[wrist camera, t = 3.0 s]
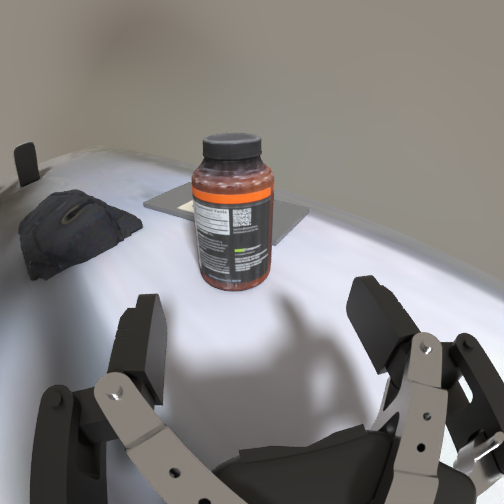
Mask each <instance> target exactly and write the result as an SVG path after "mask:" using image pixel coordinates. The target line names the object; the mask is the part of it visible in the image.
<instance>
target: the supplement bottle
mask: <svg viewBox="0 0 504 504" xmlns="http://www.w3.org/2000/svg"><path fill="white" fill-rule="evenodd" d="M261 153H262V151H261V138H260V137H259V136H257V135H253V134H245V133H226V134H216V135H211V136H208V137H205V138H204V139H203V156H204V157H205V158H204V159H203V161H202V163H201V164H200V166H199V167H198V168H197V169H196V170H195V171H194V173H193V175H192V193H193V195H192V197H193V207H194V218H195V228H196V237H197V246H198V254H199V262H200V268H201V273H202V276H203V278H204V279H205V280H206V282H207V283H209V284H211V285H212V286H214V287H216V288H218V289H222V290H225V291H242V290H247V289H250V288H253V287H256V286H258V285H259V284H261V283H262V282H263V281H264V280H265V279H266V278H267V276H268V274H269V272H270V265H271V250H272V228H273V205H274V175H273V172H272V170H271V168H269V167H268V166H267V165H266V164H264V163H263V162H262V160H261V158H260V155H261Z"/></svg>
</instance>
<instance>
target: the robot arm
mask: <svg viewBox="0 0 504 504" xmlns="http://www.w3.org/2000/svg"><path fill="white" fill-rule="evenodd" d="M346 312H347V316H348V318H349V320H350V322H351V324H352V326H353V327H354V329H355V331H356V333H357V335H358V337H359V339H360V341H361V342H362V344H363V346H364V348H365V350H366V352H367V354H368V356H369V358H370V360H371V362H372V364H373V366H374V368H375V370H376V372H377V374H378V375H379V374H382V373H386V372H388V373H389V375H390V376H389V377H388V379H387V383H386V387H385V391H384V395H383V399H382V403H381V406H380V410H379V413H378V416H377V418H376V420H375V422H374V424H373V426H372V428H371V430H365V428H364V425H363V424H361V425H358V426H355V427H352V428H348V429H345V430H341V431H338V432H335V433H333V434H331V435H329V436H328V437H326V438H324V439H322V440H320V441H318V442H316V443H314V444H312V445H310V446H307V447H285V446H267V447H260V448H253V449H244V450H239V454H240V456H238V457H235V458H232V459H230V460H228V461H226V462H224V463H222V464H221V465H219V466H218V467H216V468H215V469H214V470H213V471H212V472H211V471H210V470H209V469H208V468H207V467H205V466H204V465H203V464H202V463H201V462H200V461H199V460H198V459H197V458H196V457H195V456H194V455H193V453H192V452H191V451H190V450H189V449H188V448H187V447H186V446H185V445H184V444H183V443H182V442H181V441H180V440H179V438H178V437H177V436H176V435H175V434H174V433H173V432H172V431H171V429H170V428H169V427H168V426H167V425H166V424H164V423H163V421H162V420H161V419H160V418H159V417H158V415H157V414H156V413H155V412H154V405H163V388H164V370H165V355H166V342H167V325H166V320H165V317H164V313H163V309H162V305H161V302H160V298H159V295H158V294H140V295H139V296H138V299H137V304H136V308H127V310H126V311H125V312H124V313H123V315H122V316H121V317H120V321H119V324H118V330H117V332H116V336H115V337H116V339H115V340H114V344H113V349H112V353H111V358H110V362H109V367H108V371H107V374H106V375H104V376H102V377H101V378H100V379H99V380H98V381H97V383H96V385H95V386H94V387H92V388H89V389H84V390H80V391H75V392H71V391H70V390H69V389H68V388H67V387H66V386H63V385H54V386H51V387H49V388H48V389H47V390H46V391H45V392H44V394H43V396H42V398H41V402H40V407H39V412H38V418H37V423H36V429H35V436H34V444H33V452H32V462H31V476H30V504H108V502H107V482H106V442H107V441H109V440H114V439H118V438H120V440H121V441H122V443H123V444H124V446H125V451H126V453H127V454H128V456H129V457H130V459H131V460H132V462H133V463H134V464H135V466H136V467H137V468H138V470H139V471H140V472H141V473H142V475H143V476H144V477H145V478H146V480H147V481H148V482H149V483H150V485H151V486H152V487H153V488H154V489H155V491H156V492H157V493H158V494H159V495H160V496H161V497H162V498H163V500H164V501H165V502H166V503H167V504H476V499H477V497H478V496H479V495H480V494H482V493H483V492H484V491H485V490H487V489H488V488H489V487H490V486H492V485H493V484H494V483H495V482H496V481H498V480H499V479H500V478H502V477H504V383H503V381H502V379H501V377H500V376H499V374H498V372H497V371H496V369H495V367H494V366H493V364H492V362H491V361H490V359H489V358H488V356H487V354H486V353H485V351H484V350H483V348H482V347H481V345H480V344H479V342H478V341H477V339H476V338H475V337H473V336H472V335H470V334H467V333H461V334H459V335H458V336H457V338H456V339H455V341H454V342H440V341H439V340H438V339H437V338H436V337H435V336H434V335H432V334H430V333H426V332H421V331H420V330H419V329H418V327H417V326H416V324H415V323H414V321H413V320H412V319H411V317H410V316H409V314H408V313H407V312H406V310H405V309H403V306H402V305H401V303H400V302H398V299H397V298H396V297H395V295H394V294H393V293H392V292H391V291H390V290H388V289H387V288H386V287H384V286H383V285H380V284H379V283H378V281H377V280H376V279H375V278H374V276H372V275H369V276H361V277H356V278H355V279H354V280H353V283H352V287H351V291H350V294H349V297H348V301H347V305H346ZM462 376H464V378H465V380H466V382H467V383H468V385H469V387H470V389H471V391H472V394H473V399H472V402H471V403H469V401H468V399H467V397H466V395H465V393H464V391H463V389H462V387H461V385H460V383H459V382H458V380H459V379H460V378H461V377H462ZM445 424H446V426H447V428H448V431H449V433H450V435H451V438H452V440H453V443H454V445H455V448H456V450H457V453H458V456H457V459H456V460H455V461H454V463H453V468H452V467H450V466H448V465H446V464H444V463H442V462H440V461H439V458H440V453H441V448H442V442H443V436H444V429H445Z"/></svg>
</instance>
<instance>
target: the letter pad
mask: <svg viewBox="0 0 504 504" xmlns="http://www.w3.org/2000/svg"><path fill="white" fill-rule="evenodd" d="M192 195H193V193H192V183H191V182H188V183H186V184H184V185H181V186H179V187H177V188H174V189H172V190H170V191H167V192H165V193H163V194H161V195H159V196H156V197H154V198H152V199H150V200H148V201H146V202H143V205H144V207H147V208H150V209H154V210H157V211H161V212H164V213H168V214H171V215H175V216H178V217H181V218H185V219H188V220H192V221H195V218H194V207H193V197H192ZM309 209H310V208H307V207H303V206H299V205H295V204H290V203H286V202H282V201H278V200H274V205H273V228H272V245H275V246H276V245H277V244H278V243H279V242H280V241H281V240H282V239H283V238H284V237H285V236H286V235H287V234H288V233H289V232H290V231H291V230H292V229H293V228H294V227H295V226H296V225H297V224H298V223H299V222H300V221H301V220H302V219H303V218H304V217H305V216H306V215H307V214H308V213H309Z"/></svg>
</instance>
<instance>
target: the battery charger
mask: <svg viewBox="0 0 504 504" xmlns="http://www.w3.org/2000/svg"><path fill="white" fill-rule="evenodd" d="M13 158H14V164H15V168H16V172H17V176H18V180H19V185H20V187H22V186H25V185H27V184H30V183H32V182H34V181H36V180H38V179H40V176H39V171H38V165H37V157H36V150H35V145H34V143H33V142H30V141H29V142H26V143H23V144H21V145H19V146H17V147H15V149H14V150H13Z"/></svg>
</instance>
